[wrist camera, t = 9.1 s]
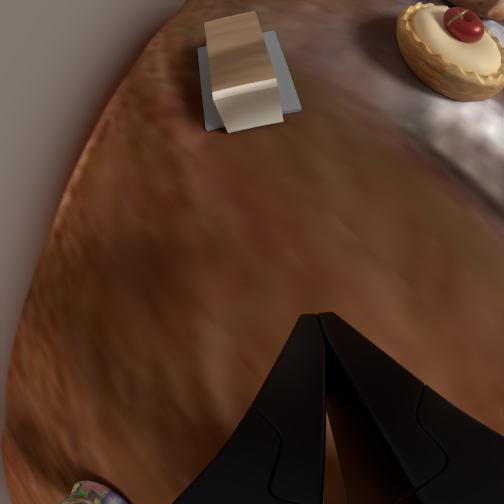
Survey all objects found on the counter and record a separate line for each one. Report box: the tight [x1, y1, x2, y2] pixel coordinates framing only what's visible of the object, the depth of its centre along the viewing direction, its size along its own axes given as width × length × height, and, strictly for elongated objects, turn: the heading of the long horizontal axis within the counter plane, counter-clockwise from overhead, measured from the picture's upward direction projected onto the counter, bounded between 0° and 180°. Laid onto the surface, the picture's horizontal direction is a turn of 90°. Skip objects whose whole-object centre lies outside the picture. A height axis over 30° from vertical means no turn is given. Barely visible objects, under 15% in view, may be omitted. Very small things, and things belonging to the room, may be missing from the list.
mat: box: [197, 31, 302, 131], centre depth 25 cm, size 11×8×1 cm
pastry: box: [396, 2, 504, 102], centre depth 18 cm, size 12×12×9 cm
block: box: [205, 11, 283, 133], centre depth 22 cm, size 4×4×10 cm
